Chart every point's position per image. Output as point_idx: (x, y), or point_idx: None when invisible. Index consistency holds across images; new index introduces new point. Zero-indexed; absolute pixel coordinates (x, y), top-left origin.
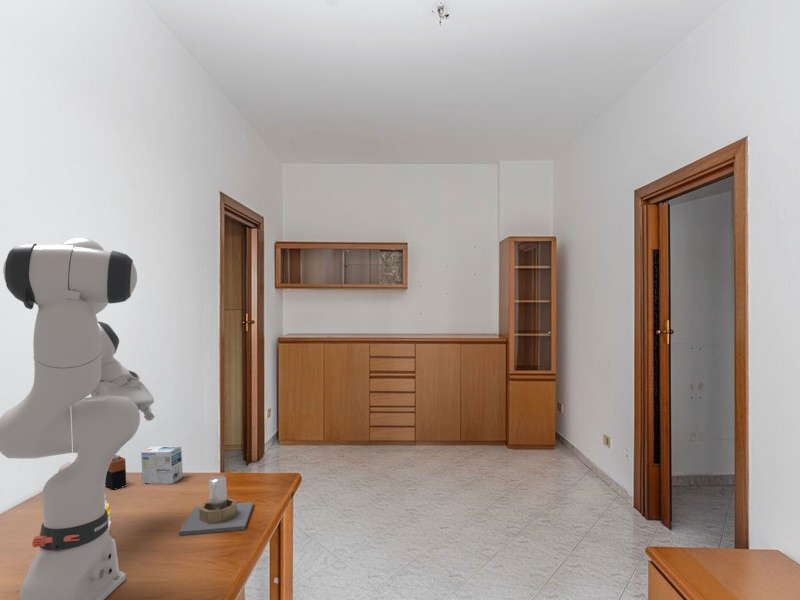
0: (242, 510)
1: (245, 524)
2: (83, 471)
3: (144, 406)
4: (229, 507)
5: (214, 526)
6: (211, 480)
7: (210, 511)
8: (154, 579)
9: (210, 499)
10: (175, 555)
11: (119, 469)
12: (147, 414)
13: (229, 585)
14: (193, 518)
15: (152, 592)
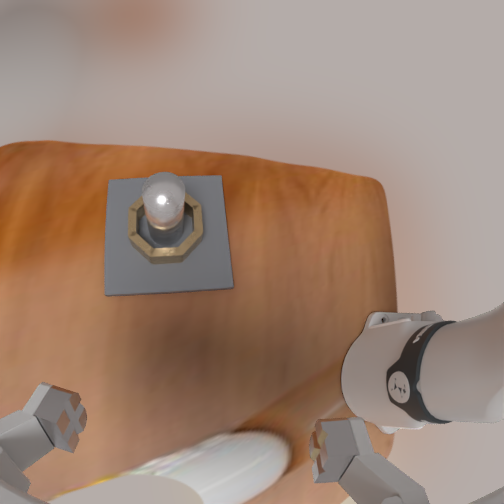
0: None
1: (211, 176)
2: None
3: (4, 472)
4: (185, 194)
5: (217, 225)
6: (174, 201)
7: (201, 226)
8: (368, 272)
9: (178, 224)
10: (306, 268)
11: None
12: (65, 428)
13: (370, 179)
14: (170, 278)
15: (392, 261)
